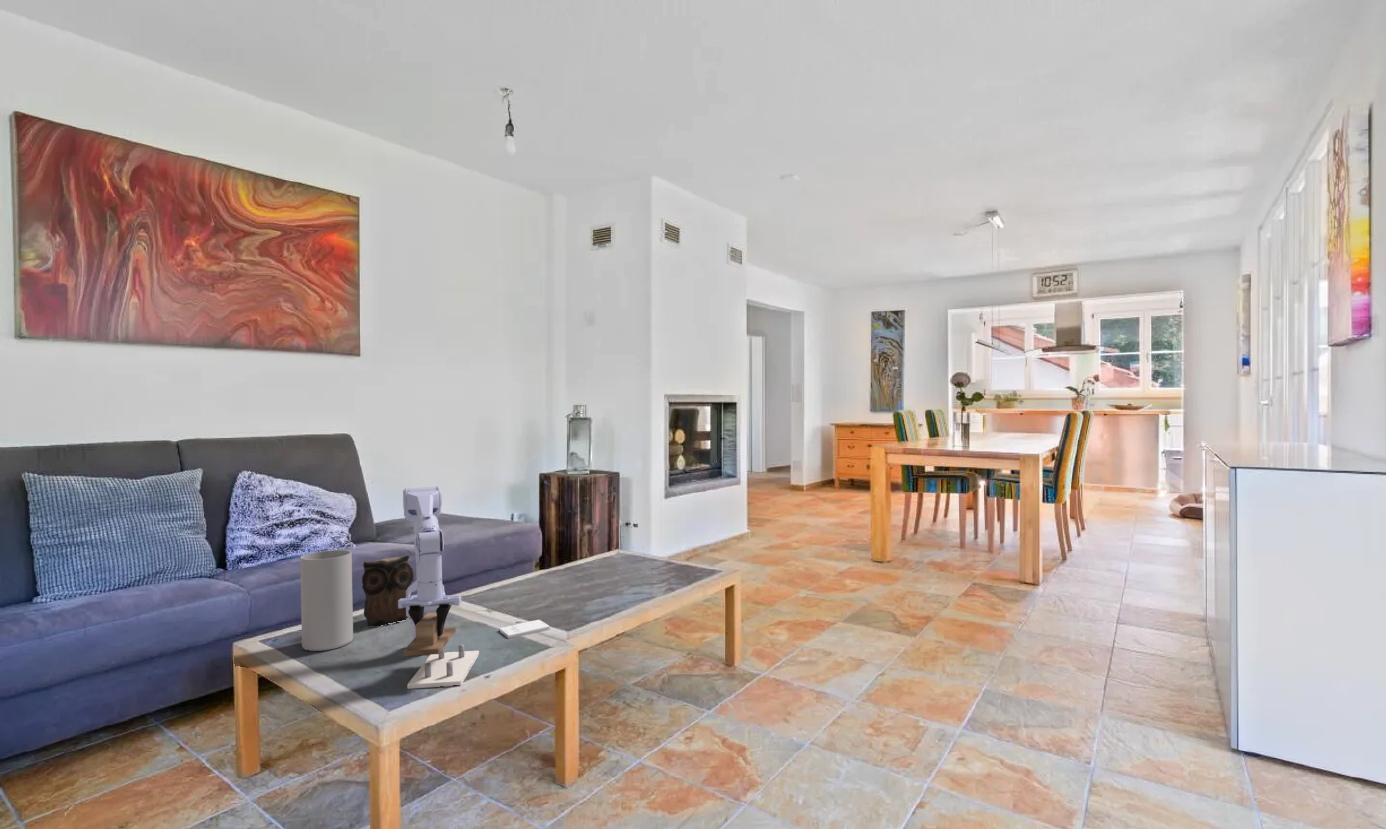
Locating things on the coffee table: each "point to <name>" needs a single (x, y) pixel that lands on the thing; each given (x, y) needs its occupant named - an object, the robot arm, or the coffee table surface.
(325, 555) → the cylinder vase
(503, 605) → the coffee table surface
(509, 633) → the external hard drive
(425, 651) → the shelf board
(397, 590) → the owl
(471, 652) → the peg base
